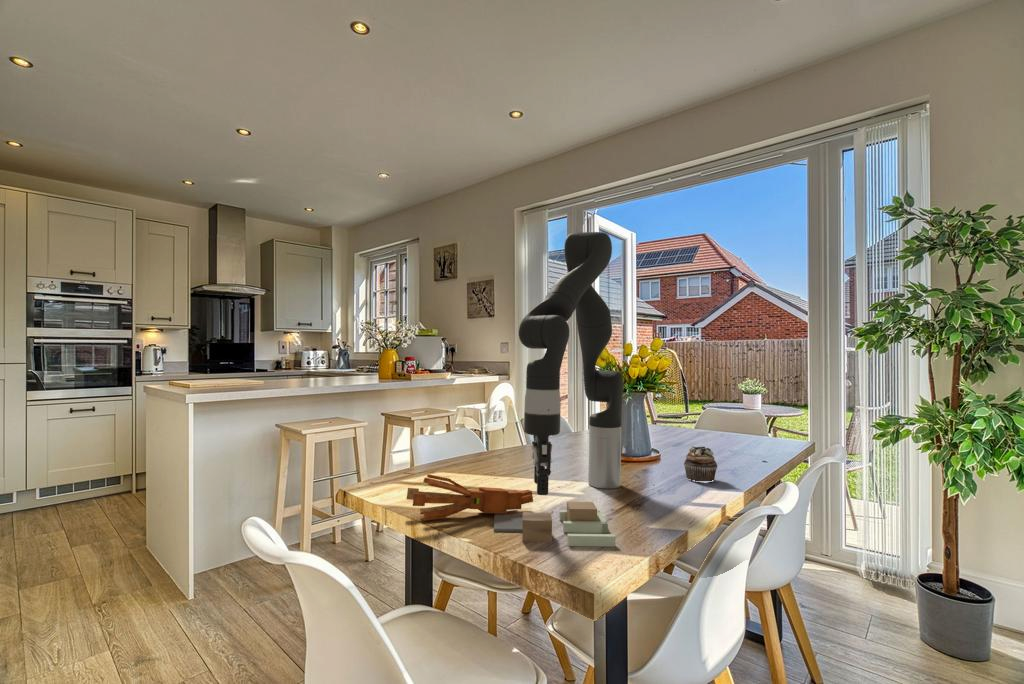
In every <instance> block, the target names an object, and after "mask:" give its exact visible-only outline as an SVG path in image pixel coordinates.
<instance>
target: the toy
mask: <svg viewBox="0 0 1024 684" xmlns="http://www.w3.org/2000/svg"><path fill="white" fill-rule="evenodd" d="M423 483H424V484H428V486H430V487H435V488H439V489H444V490H447V491H450V492H452V493H448V492H446V493H445V492H437V491H419V488H417V487H415V488H414V487H408V488H407V492H406V500H411V501H412V507H423V508H420V509H419V513H420V515H423V516H421V521H424V522H425V521H431V520H437V519H443V518H448V517H450V516H452V515H455V514H458V513H460V512H462V511H466V510H468V509H469V510H478V511H480V512H481V513H483V514H500V515H507V514H508V511H512V510H522V505H526V504H530V503H533V502H534V498H533V491H532V490H529V489H526V490H521V491H518V490H515V489H514V490H506V489H504V488H497V487H480V486H479V487H478V489H468V488H466V487H465V486H463V485H462V484H459V483H457V482H456V481H454V480H452V479H451V478H449V477H444V476H440V475H433V474H429V473H428V474H427V476H426V477H424V478H423ZM453 492H454V493H453ZM456 493H457V494H456ZM426 504H442V505H439V506H431V507H425V506H426ZM443 504H445V505H443Z"/></svg>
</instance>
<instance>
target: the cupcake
mask: <svg viewBox="0 0 1024 684" xmlns="http://www.w3.org/2000/svg"><path fill="white" fill-rule="evenodd" d="M688 450H689V452H688V453H687V454H686V456H685V460H684V463H683V465H684V470H685V474H686V475H685V477H686V479H687V478H688V479H691V480H695V481H712V480H714V481H715V477H716V472H717V469H718V464H717V462H716V460H715V456H714V451H712V449H711V448H709V447H705V446H698V447H697V446H691V447H689V448H688Z"/></svg>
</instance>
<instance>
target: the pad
mask: <svg viewBox="0 0 1024 684" xmlns="http://www.w3.org/2000/svg"><path fill="white" fill-rule="evenodd" d="M493 514H494V516H493V517H494V518H493V532H499V533H500V532H502V533H503V532H505V533H506V532H511V533H513V532H514V533H517V532H518V533H522V527H523V514H498V513H493Z"/></svg>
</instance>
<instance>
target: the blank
mask: <svg viewBox="0 0 1024 684" xmlns="http://www.w3.org/2000/svg"><path fill="white" fill-rule="evenodd" d="M522 515H523V527H522V532H521V535H522V536H521V537H522V538H521V542H522V543H546V544H547V543H549V544H551V543H553V519H552V512H537V511H536V512H534V511H533V512H529V511H526V512H525V511H523V512H522Z"/></svg>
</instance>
